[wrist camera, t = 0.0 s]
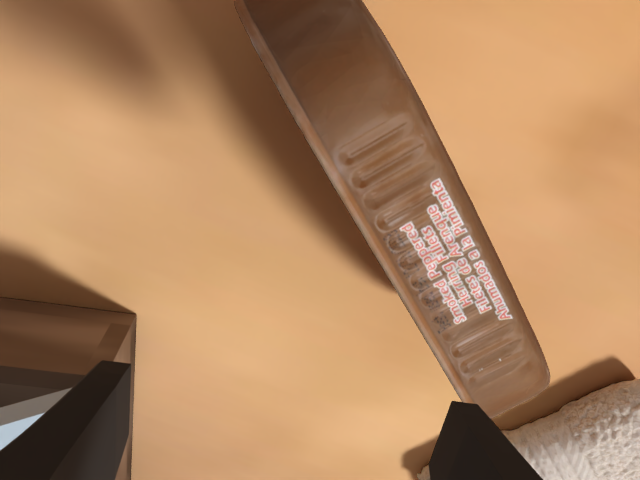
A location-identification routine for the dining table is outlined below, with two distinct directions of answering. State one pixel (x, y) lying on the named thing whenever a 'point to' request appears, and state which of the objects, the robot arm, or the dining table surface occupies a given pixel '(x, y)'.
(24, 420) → the lid
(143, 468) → the dining table surface
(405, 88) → the tin
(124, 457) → the box
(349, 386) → the dining table surface
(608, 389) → the washcloth
